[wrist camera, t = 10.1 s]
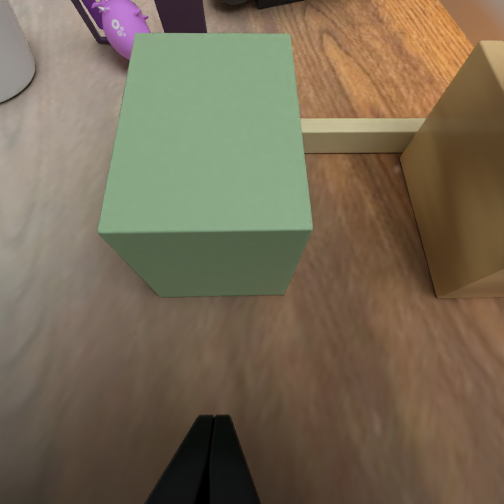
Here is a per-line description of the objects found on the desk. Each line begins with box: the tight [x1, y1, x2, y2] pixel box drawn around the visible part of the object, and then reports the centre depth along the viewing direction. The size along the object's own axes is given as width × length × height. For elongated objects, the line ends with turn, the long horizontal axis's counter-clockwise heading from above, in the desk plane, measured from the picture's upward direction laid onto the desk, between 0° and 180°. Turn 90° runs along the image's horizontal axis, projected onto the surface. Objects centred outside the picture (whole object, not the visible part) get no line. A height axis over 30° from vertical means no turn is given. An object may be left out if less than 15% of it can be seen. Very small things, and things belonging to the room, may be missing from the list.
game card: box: [71, 0, 207, 60], centre depth 22 cm, size 7×5×9 cm
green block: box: [97, 33, 313, 297], centre depth 16 cm, size 10×7×8 cm
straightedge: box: [300, 118, 426, 153], centre depth 21 cm, size 1×24×2 cm, turn 91°
